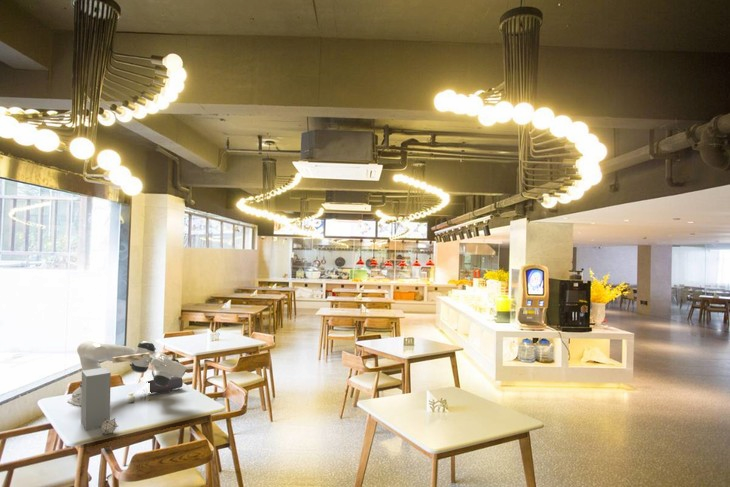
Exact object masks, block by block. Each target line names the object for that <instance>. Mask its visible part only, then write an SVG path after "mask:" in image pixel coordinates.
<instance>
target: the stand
mask: <svg viewBox="0 0 730 487" xmlns="http://www.w3.org/2000/svg"><path fill="white" fill-rule="evenodd" d="M111 376H112V374H111V372H110V371H109V370H108V368H106V367H101V368H97V369H90V370H83V371H82V370H81V381H82V393H81V406H80V409H81V410H80V422H81V425H82V426H83V428H84V430H85V431H90V430H95V429H98V428H100V429H101V427H99V426H101V425H102V424H103V423H104V421H105V419H106V420H111V381H112V380H111V378H112V377H111Z"/></svg>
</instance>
